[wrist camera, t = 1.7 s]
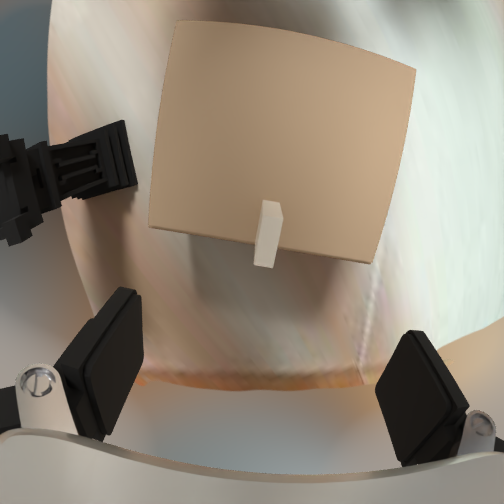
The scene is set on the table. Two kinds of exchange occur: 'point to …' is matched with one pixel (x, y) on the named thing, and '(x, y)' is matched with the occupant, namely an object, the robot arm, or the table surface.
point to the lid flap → (278, 139)
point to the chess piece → (59, 175)
